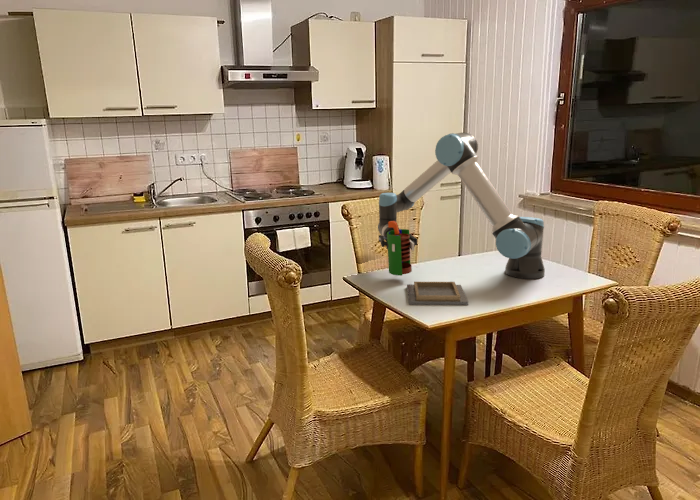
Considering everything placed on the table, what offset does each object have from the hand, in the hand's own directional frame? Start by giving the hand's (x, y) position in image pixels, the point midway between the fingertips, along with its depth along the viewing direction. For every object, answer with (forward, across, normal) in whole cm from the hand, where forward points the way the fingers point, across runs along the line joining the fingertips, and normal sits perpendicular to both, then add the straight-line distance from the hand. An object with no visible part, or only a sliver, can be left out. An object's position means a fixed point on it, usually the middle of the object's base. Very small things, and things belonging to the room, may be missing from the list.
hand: (403, 247), depth 198 cm
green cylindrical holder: (-5, 0, -11) cm, 12 cm away
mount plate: (+14, -9, -15) cm, 22 cm away
